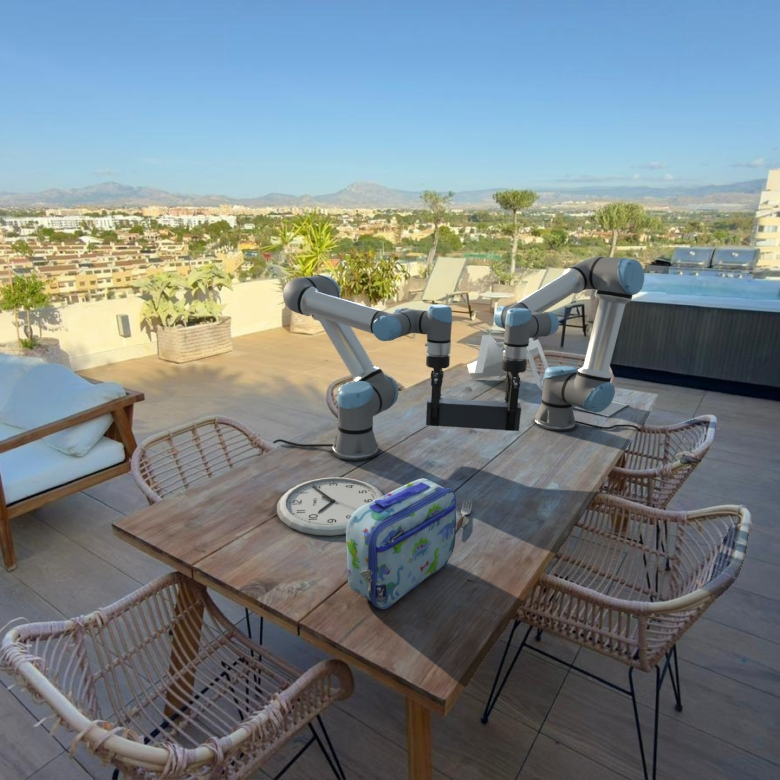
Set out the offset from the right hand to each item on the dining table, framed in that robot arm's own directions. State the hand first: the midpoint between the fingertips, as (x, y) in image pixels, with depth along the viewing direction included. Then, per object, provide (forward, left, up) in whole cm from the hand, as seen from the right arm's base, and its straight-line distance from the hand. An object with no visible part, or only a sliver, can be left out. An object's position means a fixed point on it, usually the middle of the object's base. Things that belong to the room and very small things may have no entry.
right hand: (508, 426), depth 171 cm
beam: (+12, 0, 0) cm, 12 cm away
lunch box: (+28, +68, -11) cm, 74 cm away
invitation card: (-46, -60, -11) cm, 76 cm away
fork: (+15, +42, -11) cm, 46 cm away
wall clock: (+50, +39, -11) cm, 65 cm away
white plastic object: (-8, -85, -11) cm, 86 cm away
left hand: (+24, 0, 0) cm, 24 cm away
